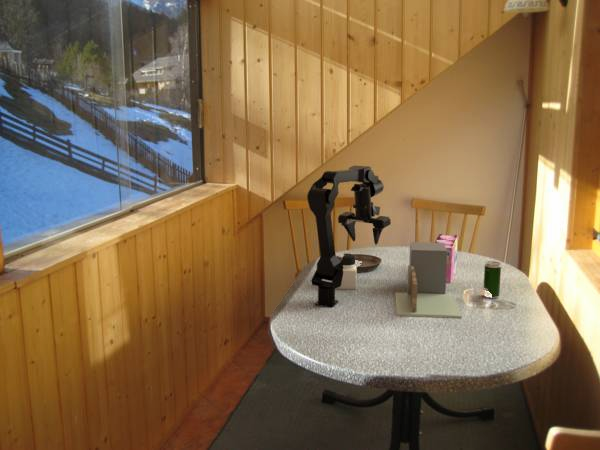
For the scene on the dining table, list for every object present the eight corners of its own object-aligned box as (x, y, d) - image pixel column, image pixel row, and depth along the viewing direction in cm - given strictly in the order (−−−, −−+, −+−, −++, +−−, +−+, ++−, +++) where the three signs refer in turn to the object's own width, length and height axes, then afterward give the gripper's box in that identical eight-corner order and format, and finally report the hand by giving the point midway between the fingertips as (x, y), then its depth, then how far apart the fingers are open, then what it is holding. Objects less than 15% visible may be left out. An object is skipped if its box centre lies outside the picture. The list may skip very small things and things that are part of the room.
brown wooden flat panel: (410, 294, 219) (411, 268, 217) (414, 294, 219) (414, 268, 217) (412, 311, 202) (413, 284, 200) (416, 311, 201) (417, 284, 200)
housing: (395, 284, 234) (396, 241, 231) (450, 285, 231) (452, 243, 228) (396, 315, 201) (397, 266, 198) (461, 318, 198) (463, 268, 195)
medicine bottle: (356, 283, 235) (356, 252, 232) (356, 289, 228) (356, 257, 225) (337, 283, 235) (337, 251, 233) (336, 289, 228) (336, 256, 226)
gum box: (437, 265, 259) (438, 233, 257) (457, 267, 257) (459, 234, 254) (429, 281, 237) (430, 246, 234) (451, 283, 235) (452, 247, 232)
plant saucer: (320, 268, 256) (320, 260, 255) (348, 258, 272) (348, 251, 271) (364, 277, 244) (364, 269, 243) (390, 266, 260) (391, 258, 259)
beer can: (492, 300, 215) (494, 265, 213) (479, 296, 220) (481, 262, 217) (502, 297, 218) (504, 263, 216) (490, 293, 223) (492, 260, 220)
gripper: (397, 197, 225) (398, 239, 229) (352, 192, 236) (354, 232, 240) (381, 205, 216) (383, 248, 221) (335, 200, 227) (338, 241, 232)
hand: (365, 242), depth 229 cm, fingers open, 9 cm apart
